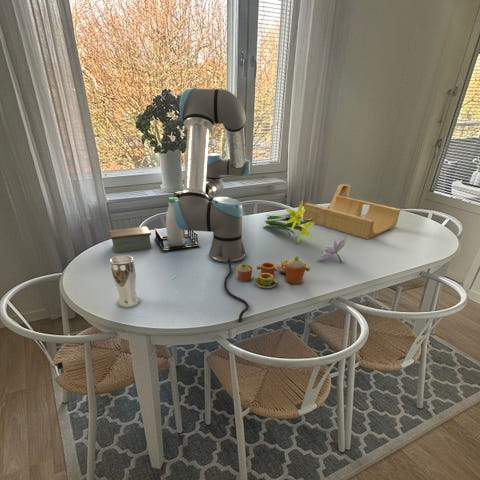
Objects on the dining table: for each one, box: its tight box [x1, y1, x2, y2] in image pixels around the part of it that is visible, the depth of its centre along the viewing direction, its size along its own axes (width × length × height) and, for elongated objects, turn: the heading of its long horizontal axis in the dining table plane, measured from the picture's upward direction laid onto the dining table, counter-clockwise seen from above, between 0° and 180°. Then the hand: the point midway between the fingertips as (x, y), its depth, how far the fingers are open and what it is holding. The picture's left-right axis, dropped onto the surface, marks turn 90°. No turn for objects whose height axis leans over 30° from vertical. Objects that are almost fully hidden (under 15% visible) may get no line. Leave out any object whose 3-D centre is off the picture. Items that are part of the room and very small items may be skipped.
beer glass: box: [109, 254, 140, 308], centre depth 107 cm, size 7×7×15 cm
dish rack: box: [154, 227, 200, 253], centre depth 154 cm, size 17×16×6 cm
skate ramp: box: [302, 180, 403, 240], centre depth 184 cm, size 40×35×16 cm
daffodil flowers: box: [262, 200, 316, 243], centre depth 163 cm, size 17×15×35 cm
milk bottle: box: [165, 196, 186, 247], centre depth 150 cm, size 8×8×20 cm
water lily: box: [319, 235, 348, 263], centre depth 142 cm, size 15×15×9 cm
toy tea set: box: [236, 255, 311, 289], centre depth 125 cm, size 26×16×10 cm, turn 112°
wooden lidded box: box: [108, 226, 152, 254], centre depth 148 cm, size 9×16×7 cm, turn 114°
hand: (184, 201), depth 155 cm, fingers open, 13 cm apart
